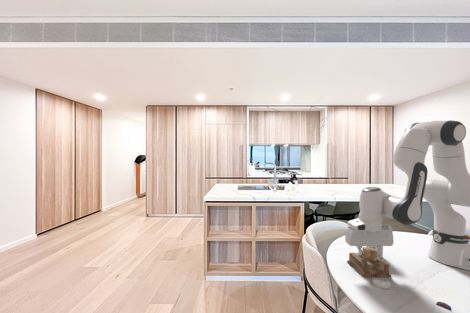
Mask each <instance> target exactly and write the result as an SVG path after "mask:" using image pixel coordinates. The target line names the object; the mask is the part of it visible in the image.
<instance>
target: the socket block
mask: <svg viewBox="0 0 470 313" xmlns="http://www.w3.org/2000/svg"><path fill="white" fill-rule="evenodd" d="M348 256H349V257H348V260H347V264H348V265H349V266H350V267H351V268H353V269H354V271H355V272H357V273H358V274H359V275H360V276H361V277H362V278H374V277H379V278H392V274H391V273H390V264H389V263H388V262H386V261H384V259H383V258H379V257H378V256H377V262H366V261H365V260H363V259H362V255H359V252H349V254H348Z"/></svg>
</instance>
